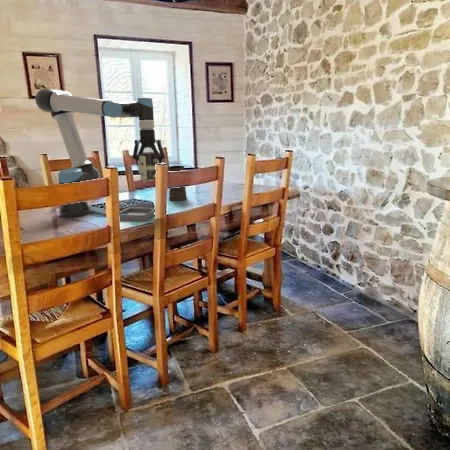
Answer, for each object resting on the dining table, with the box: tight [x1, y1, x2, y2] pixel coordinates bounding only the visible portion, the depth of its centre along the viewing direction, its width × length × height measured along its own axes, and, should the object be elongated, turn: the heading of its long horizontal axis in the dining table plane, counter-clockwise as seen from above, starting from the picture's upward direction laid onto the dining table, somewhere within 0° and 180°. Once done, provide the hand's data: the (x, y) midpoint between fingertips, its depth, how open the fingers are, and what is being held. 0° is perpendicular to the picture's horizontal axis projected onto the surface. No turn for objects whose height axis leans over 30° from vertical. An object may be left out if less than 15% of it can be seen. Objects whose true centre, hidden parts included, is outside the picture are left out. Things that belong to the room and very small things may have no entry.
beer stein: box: [167, 165, 188, 202], centre depth 236 cm, size 15×11×20 cm
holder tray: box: [119, 207, 156, 222], centre depth 195 cm, size 16×16×3 cm
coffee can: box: [137, 151, 158, 182], centre depth 204 cm, size 10×10×14 cm
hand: (149, 172), depth 205 cm, fingers closed on coffee can, 10 cm apart
